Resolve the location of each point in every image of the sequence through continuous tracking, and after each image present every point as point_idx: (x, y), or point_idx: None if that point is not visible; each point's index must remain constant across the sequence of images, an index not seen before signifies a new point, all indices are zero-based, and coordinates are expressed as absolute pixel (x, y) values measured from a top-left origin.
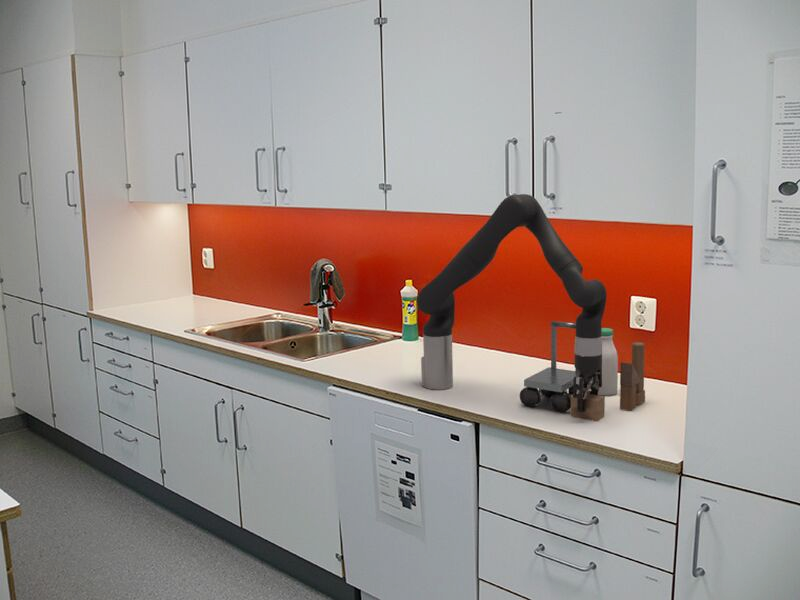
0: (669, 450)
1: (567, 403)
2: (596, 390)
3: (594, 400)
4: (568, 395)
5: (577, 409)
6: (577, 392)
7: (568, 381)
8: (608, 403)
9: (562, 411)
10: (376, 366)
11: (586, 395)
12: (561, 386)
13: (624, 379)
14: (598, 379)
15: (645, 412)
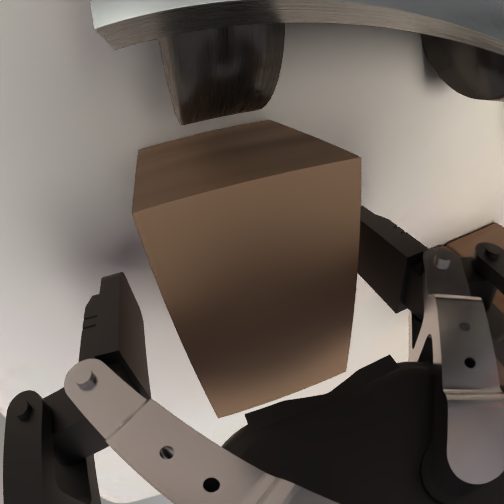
0: (152, 490)
1: (176, 100)
2: (412, 305)
3: (212, 405)
4: (240, 82)
5: (101, 284)
6: (91, 421)
7: (461, 15)
8: (456, 174)
9: (162, 54)
10: None
11: (298, 295)
12: (96, 24)
13: (502, 370)
14: (498, 343)
15: (401, 329)
